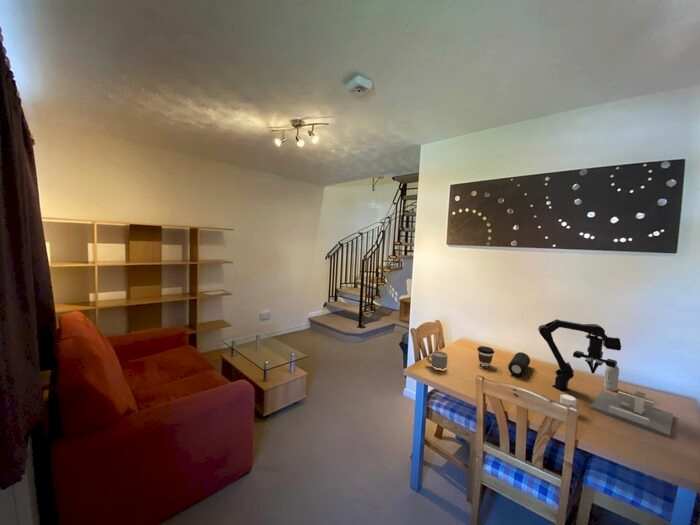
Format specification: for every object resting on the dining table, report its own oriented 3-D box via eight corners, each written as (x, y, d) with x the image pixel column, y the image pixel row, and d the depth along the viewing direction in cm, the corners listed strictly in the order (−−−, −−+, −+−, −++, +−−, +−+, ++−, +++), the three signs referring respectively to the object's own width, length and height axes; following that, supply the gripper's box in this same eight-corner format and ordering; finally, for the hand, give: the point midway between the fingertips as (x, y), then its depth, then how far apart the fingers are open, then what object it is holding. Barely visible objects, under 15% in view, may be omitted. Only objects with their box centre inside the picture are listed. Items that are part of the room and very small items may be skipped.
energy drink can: (601, 386, 177) (603, 362, 176) (611, 386, 176) (613, 363, 175) (609, 391, 171) (612, 366, 170) (619, 391, 170) (622, 367, 169)
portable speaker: (514, 363, 208) (515, 349, 207) (530, 367, 202) (531, 353, 201) (506, 374, 188) (507, 360, 188) (524, 379, 182) (525, 364, 181)
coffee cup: (483, 369, 195) (484, 352, 195) (472, 362, 206) (473, 346, 205) (496, 368, 198) (498, 351, 197) (485, 361, 209) (487, 345, 208)
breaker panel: (590, 408, 151) (591, 400, 151) (601, 393, 168) (602, 385, 168) (669, 437, 129) (670, 428, 129) (673, 416, 146) (674, 408, 146)
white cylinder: (576, 415, 145) (577, 402, 144) (559, 410, 148) (560, 398, 148) (574, 409, 150) (575, 396, 150) (558, 404, 154) (559, 392, 153)
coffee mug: (448, 367, 196) (449, 353, 195) (443, 372, 188) (444, 358, 187) (430, 362, 204) (430, 348, 203) (424, 366, 196) (425, 352, 196)
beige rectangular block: (633, 411, 146) (635, 394, 146) (634, 408, 150) (636, 391, 149) (642, 414, 144) (644, 396, 143) (643, 411, 147) (645, 393, 146)
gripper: (620, 348, 162) (617, 375, 163) (578, 339, 176) (576, 364, 177) (616, 353, 155) (613, 381, 156) (573, 343, 169) (571, 368, 170)
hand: (592, 373), depth 165 cm, fingers closed
